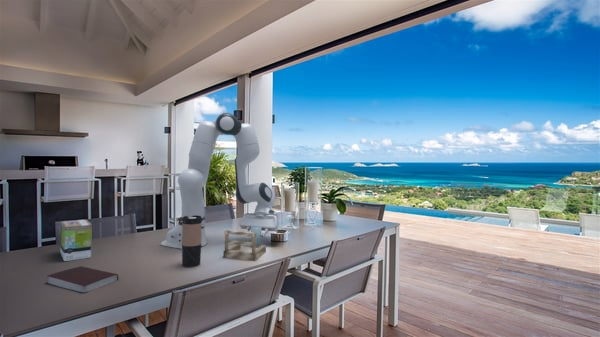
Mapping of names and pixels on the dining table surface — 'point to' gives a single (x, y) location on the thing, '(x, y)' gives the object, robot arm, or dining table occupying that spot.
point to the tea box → (75, 240)
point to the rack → (234, 249)
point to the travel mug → (191, 241)
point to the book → (81, 279)
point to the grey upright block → (258, 235)
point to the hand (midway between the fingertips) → (255, 236)
